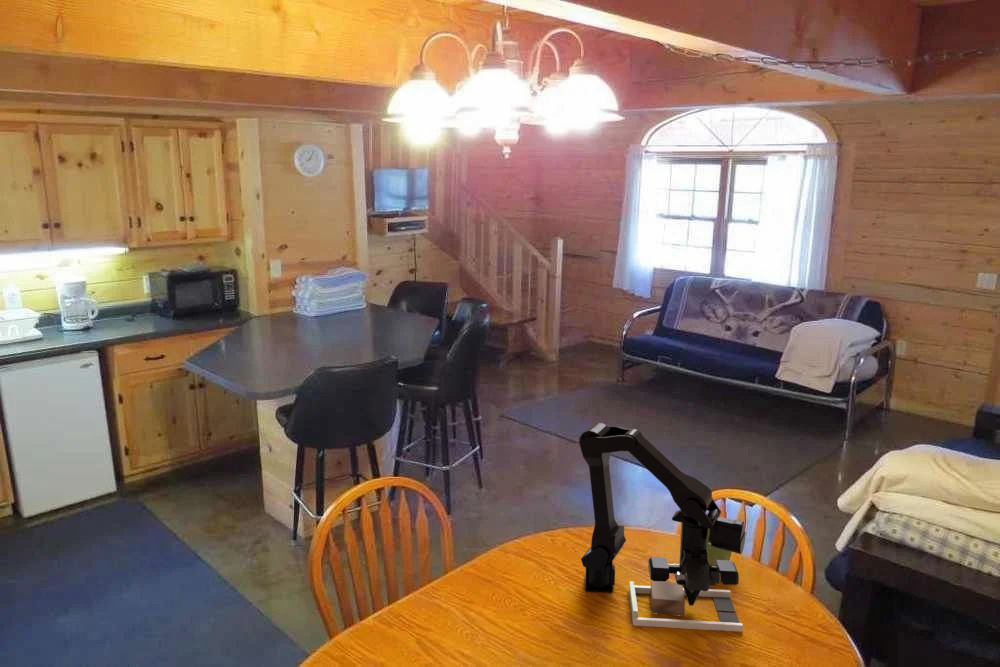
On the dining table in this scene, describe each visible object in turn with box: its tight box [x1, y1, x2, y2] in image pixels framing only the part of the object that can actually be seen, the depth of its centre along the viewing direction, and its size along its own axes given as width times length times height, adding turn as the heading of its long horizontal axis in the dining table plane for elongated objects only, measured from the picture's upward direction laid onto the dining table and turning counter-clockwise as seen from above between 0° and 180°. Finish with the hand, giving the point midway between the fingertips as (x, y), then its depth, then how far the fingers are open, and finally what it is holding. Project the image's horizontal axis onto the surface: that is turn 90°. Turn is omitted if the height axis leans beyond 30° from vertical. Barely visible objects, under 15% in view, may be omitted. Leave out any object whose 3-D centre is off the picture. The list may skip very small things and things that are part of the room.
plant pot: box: [707, 528, 733, 566], centre depth 171 cm, size 9×9×9 cm
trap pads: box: [712, 597, 740, 623], centre depth 154 cm, size 4×11×1 cm, turn 174°
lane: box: [628, 581, 744, 633], centre depth 155 cm, size 23×13×3 cm, turn 84°
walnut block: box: [649, 580, 686, 617], centre depth 157 cm, size 7×7×4 cm
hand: (690, 604), depth 155 cm, fingers closed
